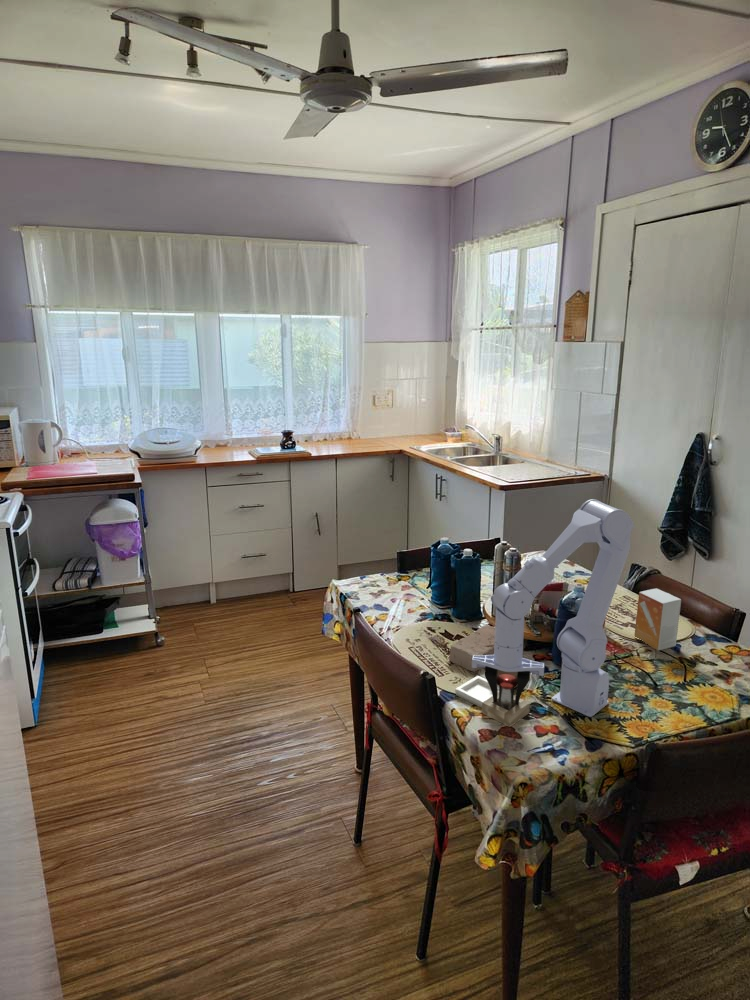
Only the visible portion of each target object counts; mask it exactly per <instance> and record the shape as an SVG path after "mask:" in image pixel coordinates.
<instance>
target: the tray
mask: <svg viewBox="0 0 750 1000" xmlns="http://www.w3.org/2000/svg"><path fill="white" fill-rule="evenodd" d="M497 689H498V692H499V685H497ZM454 693H455V694H456V695H455V696H457V697H459V698H461V699H463V700H465V701H467V702H469V703H472V704H473V705H475V706H477V707H479V708H481V709H482V702H484V701H486V700H487V699H489V698H490V697H492V696H493V695H492V691H491V688H490V685H489V683H488V681H487V679H486V678H484V677H482V676H480V675H476V676H475V677H473V678H471V679H469V680H468V681H466V682H464V683H463V684H461V685H459V686H458V687H455V692H454Z"/></svg>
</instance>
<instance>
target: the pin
mask: <svg viewBox="0 0 750 1000" xmlns="http://www.w3.org/2000/svg"><path fill="white" fill-rule="evenodd" d="M497 684H498V685H499V706H500V707H502V708H504V709H506V710H508V711H509V710H510V709H512V708H513V699H514V696H515V688H517V679H516V677H514V676H512V675H509V674H502V675H499V676H498V677H497Z"/></svg>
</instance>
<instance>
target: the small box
mask: <svg viewBox="0 0 750 1000" xmlns="http://www.w3.org/2000/svg"><path fill="white" fill-rule="evenodd" d="M681 604H682V599H681V598H679V597H677V596H674V595H673V594H671V593H669V592H666V591H664V590H661V589H660V588H650V589H647V590H643V591H639V592H638V599H637V608H636V618H635V627H634V636H635V637H637V638H639V639H641V640H643V641H644V642H645V643H644V642H643V643H644V644H646V645H647V644H648V645H647V646H649V647H651V648H653V649H654V650H656V651H658V652H659V651H662V650H665V649H670V648H674V647H676V645H677V638H678V630H679V622H680V621H679V620H680V612H681V607H682V605H681ZM635 637H634V638H635ZM637 638H636V639H637Z"/></svg>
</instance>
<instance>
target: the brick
mask: <svg viewBox="0 0 750 1000" xmlns="http://www.w3.org/2000/svg"><path fill="white" fill-rule="evenodd" d="M494 645H495V626H491V625H489V624H485V625H482V626H480V627H479V628H478V629H477V630H476V631H474V632H473V633H471V634H469V635H467V636H465V637H463V638H461V639H459V640H458V641H455V642H454V644H452V645H450V650H449V659H448V660H449V662H451V663H453V664H455V665H458V666H460V667H462V668H464V669H466V670H468V671H471V672H477V671H478V670H481V669H482V668H483V667H477V668H472V658H473V655H478V656H481V655H494Z"/></svg>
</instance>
